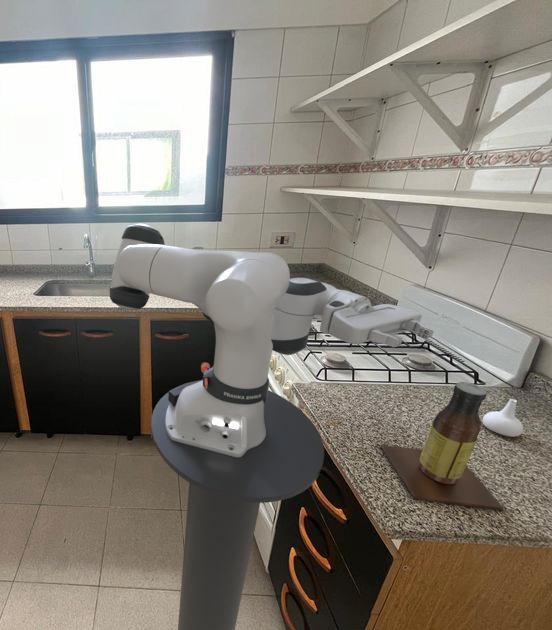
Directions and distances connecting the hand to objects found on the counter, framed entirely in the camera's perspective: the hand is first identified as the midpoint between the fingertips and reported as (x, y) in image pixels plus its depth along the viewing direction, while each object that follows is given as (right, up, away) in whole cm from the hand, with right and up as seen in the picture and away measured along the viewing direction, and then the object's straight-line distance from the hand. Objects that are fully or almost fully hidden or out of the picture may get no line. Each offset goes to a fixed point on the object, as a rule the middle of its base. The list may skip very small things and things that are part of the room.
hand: (415, 338), depth 67 cm
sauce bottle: (+5, -26, +1) cm, 27 cm away
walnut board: (+4, -27, +1) cm, 27 cm away
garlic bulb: (+29, -22, +12) cm, 38 cm away
